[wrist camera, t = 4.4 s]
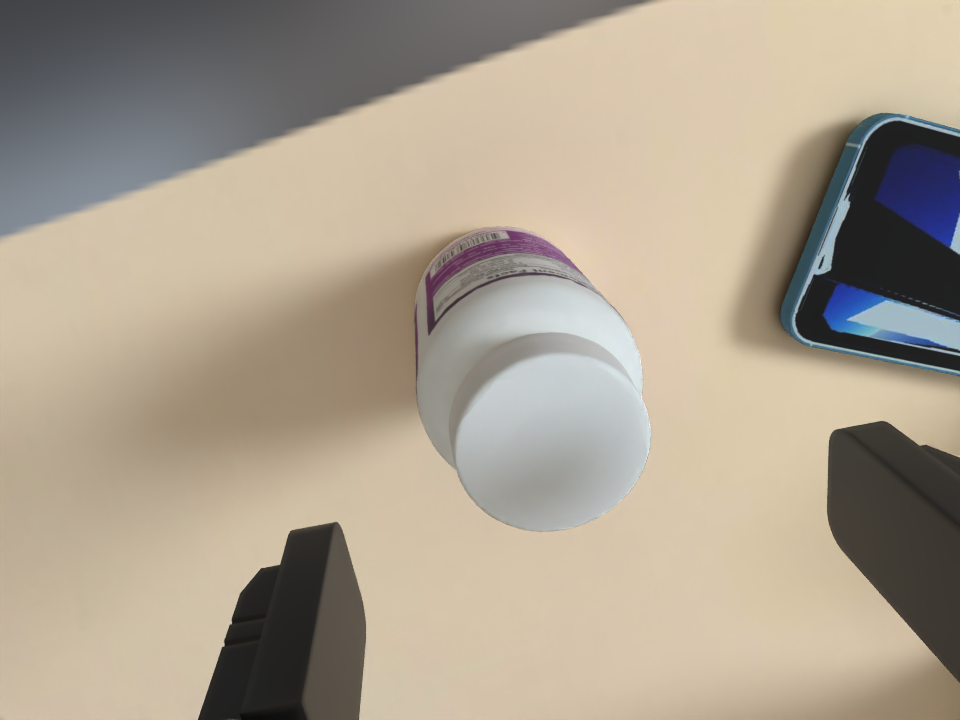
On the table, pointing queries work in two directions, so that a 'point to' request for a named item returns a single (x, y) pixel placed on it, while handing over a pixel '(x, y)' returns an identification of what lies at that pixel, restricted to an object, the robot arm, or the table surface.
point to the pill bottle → (528, 381)
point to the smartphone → (885, 249)
